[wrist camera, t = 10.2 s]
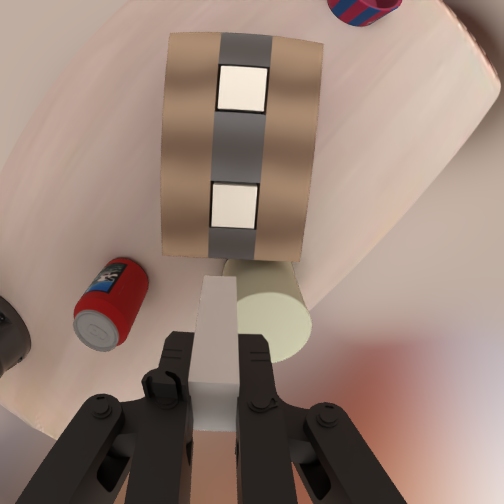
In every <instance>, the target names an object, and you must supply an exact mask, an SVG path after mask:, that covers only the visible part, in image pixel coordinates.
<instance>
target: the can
mask: <svg viewBox="0 0 504 504" xmlns="http://www.w3.org/2000/svg"><path fill="white" fill-rule="evenodd" d="M223 276H230V277H236V287H237V322H238V334H262V335H263V336H264V337H265V339H266V340H267V341H268V343H269V349H270V356H271V362H272V363H276V362H279V361H282V360H285V359H287V358H289V357H291V356H293V355H294V354H295V353H297V352H298V351H299V350H300V349H301V348H302V347H303V346H304V345H305V344H306V342H307V340H308V339H309V336H310V334H311V329H312V320H311V316H310V313H309V311H308V309H307V308H306V305H305V302H304V300H303V297H302V295H301V292H300V289H299V286H298V284H297V281H296V278H295V275H294V270H293V266H292V263H291V262H287V261H265V260H244V259H228V260H227V262H226V264H225V266H224V269H223Z"/></svg>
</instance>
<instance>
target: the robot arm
mask: <svg viewBox="0 0 504 504" xmlns="http://www.w3.org/2000/svg"><path fill="white" fill-rule="evenodd" d="M30 347H31V341H30V336H29V333H28V331H27V328H26V326H25V324H24V323H23V321H22V319H21V318H20V316H19V315H18V314H17V312H16V311H15V310H14V309H13V308H12V306H11V305H10V304H9V303H8V302H6V301H5V300H4V299H3V298H1V297H0V378H1V376H2V375H3V373H4V372H5V371H7V370H8V369H10V368H11V367H13V366H15V365H16V364H17V363H19V362H21V361H22V360H23V359H24V358H25V357H26V355H27V354H28V352H29V351H30ZM141 382H142V386H143V390H144V394H145V397H143V398H141V399H138V400H134V401H127V402H119V401H118V399H117V398H115V397H113V396H112V395H108V394H96V395H94V396H92V397H90V398H88V399H87V400H86V401H85V402H84V404H83V405H82V406H81V408H80V409H79V411H78V412H77V413H76V415H75V416H74V417H73V419H72V420H71V422H70V423H69V424H68V426H67V427H66V429H65V430H64V432H63V433H62V434H61V436H60V437H59V439H58V440H57V442H56V443H55V445H54V446H53V447H52V449H51V450H50V452H49V453H48V455H47V456H46V458H45V459H44V460H43V462H42V463H41V465H40V466H39V468H38V469H37V471H36V472H35V474H34V475H33V477H32V478H31V480H30V481H29V483H28V485H27V486H26V488H25V489H24V491H23V492H22V494H21V495H20V497H19V498H18V500H17V502H16V503H15V504H113V503H114V501H115V499H116V497H117V495H118V493H119V491H120V489H121V487H122V485H123V483H124V481H125V479H126V477H127V475H128V473H129V472H130V474H129V480H128V485H127V491H126V497H125V503H124V504H190V492H191V473H192V456H193V437H192V434H193V428H194V430H205V431H206V430H207V431H234V432H235V431H236V447H235V454H236V469H237V470H236V471H237V500H238V504H298V502H297V496H296V489H295V483H294V477H293V470H292V464H291V462H293V464H294V466H295V468H296V470H297V472H298V474H299V476H300V478H301V480H302V482H303V484H304V486H305V488H306V490H307V492H308V494H309V496H310V498H311V500H312V502H313V504H407V503H406V501H405V500H404V498H403V497H402V495H401V494H400V492H399V491H398V490H397V488H396V486H395V485H394V483H393V482H392V481H391V479H390V477H389V476H388V475H387V473H386V472H385V470H384V469H383V467H382V466H381V464H380V463H379V461H378V460H377V458H376V457H375V455H374V454H373V452H372V451H371V449H370V448H369V446H368V445H367V443H366V442H365V440H364V439H363V437H362V436H361V434H360V433H359V431H358V430H357V428H356V427H355V425H354V424H353V422H352V421H351V419H350V418H349V417H348V415H347V413H346V412H345V411H344V410H343V409H342V408H341V407H339V406H337V405H335V404H333V403H327V402H324V403H318V404H316V405H314V406H312V407H311V408H310V409H304V408H299V407H295V406H292V405H289V404H287V403H285V402H284V401H282V399H281V398H279V396H278V395H277V392H276V388H275V381H274V375H273V369H272V362H271V356H270V349H269V343H268V341H267V340H266V339H265V337H264V336H263V335H262V334H238V322H237V287H236V277H230V276H206V275H204V279H203V285H202V291H201V297H200V303H199V309H198V316H197V322H196V329H195V333H193V332H177V331H173V332H172V333H171V334H170V335H169V336H168V337H167V338H166V339H165V343H164V347H163V351H162V355H161V359H160V363H159V367H158V368H157V369H154V370H151V371H149V372H148V373H147V374H145V375H144V377H143V379H142V381H141Z"/></svg>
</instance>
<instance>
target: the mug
mask: <svg viewBox="0 0 504 504" xmlns="http://www.w3.org/2000/svg"><path fill="white" fill-rule="evenodd" d="M327 1H328V5H329V7H330V9H331V11H332V12H333V13H334V14H335V15H336V16H337V17H338V18H339V19H340V20H342V21H343V22H345V23H347V24H350V25H353V26H367V25H370V24H371V23H373V22H375V21H376V20H378V19H380V18H381V17H383V16H385V15H386V14H388V13H390V12H391V11H393V10H395V9H397V8H398V7H399V6H400V4H401V3H402V0H327Z"/></svg>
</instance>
